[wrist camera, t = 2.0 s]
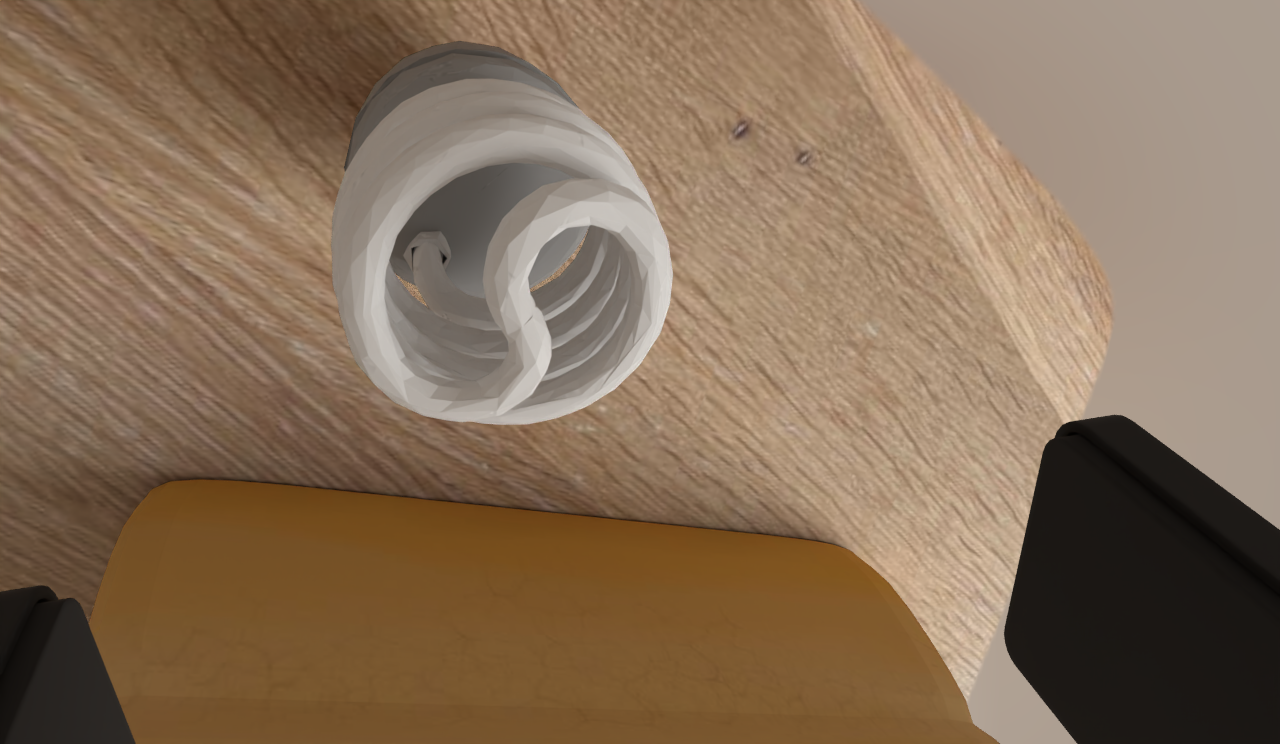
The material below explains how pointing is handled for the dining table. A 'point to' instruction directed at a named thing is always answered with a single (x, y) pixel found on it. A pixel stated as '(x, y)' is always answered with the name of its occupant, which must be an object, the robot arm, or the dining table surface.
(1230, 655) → the robot arm
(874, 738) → the bread
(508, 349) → the light bulb
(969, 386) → the dining table surface
